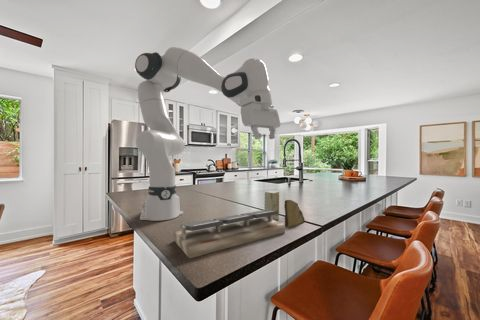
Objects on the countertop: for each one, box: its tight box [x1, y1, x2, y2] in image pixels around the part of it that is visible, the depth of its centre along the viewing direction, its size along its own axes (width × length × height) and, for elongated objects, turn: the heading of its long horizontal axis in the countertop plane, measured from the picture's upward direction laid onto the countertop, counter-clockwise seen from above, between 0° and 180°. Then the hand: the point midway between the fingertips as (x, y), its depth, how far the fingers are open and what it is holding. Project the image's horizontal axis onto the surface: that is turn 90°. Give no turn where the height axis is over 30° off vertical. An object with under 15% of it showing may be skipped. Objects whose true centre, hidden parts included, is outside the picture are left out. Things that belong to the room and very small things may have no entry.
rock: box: [283, 199, 306, 228], centre depth 85 cm, size 11×9×10 cm
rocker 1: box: [180, 219, 223, 231], centre depth 64 cm, size 10×10×1 cm
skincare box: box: [264, 190, 280, 221], centre depth 91 cm, size 6×4×12 cm
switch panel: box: [173, 210, 286, 259], centre depth 71 cm, size 14×36×6 cm, turn 124°
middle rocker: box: [212, 214, 253, 224], centre depth 71 cm, size 10×10×1 cm
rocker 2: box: [239, 210, 278, 218], centre depth 77 cm, size 10×10×1 cm
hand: (265, 138), depth 77 cm, fingers open, 8 cm apart
